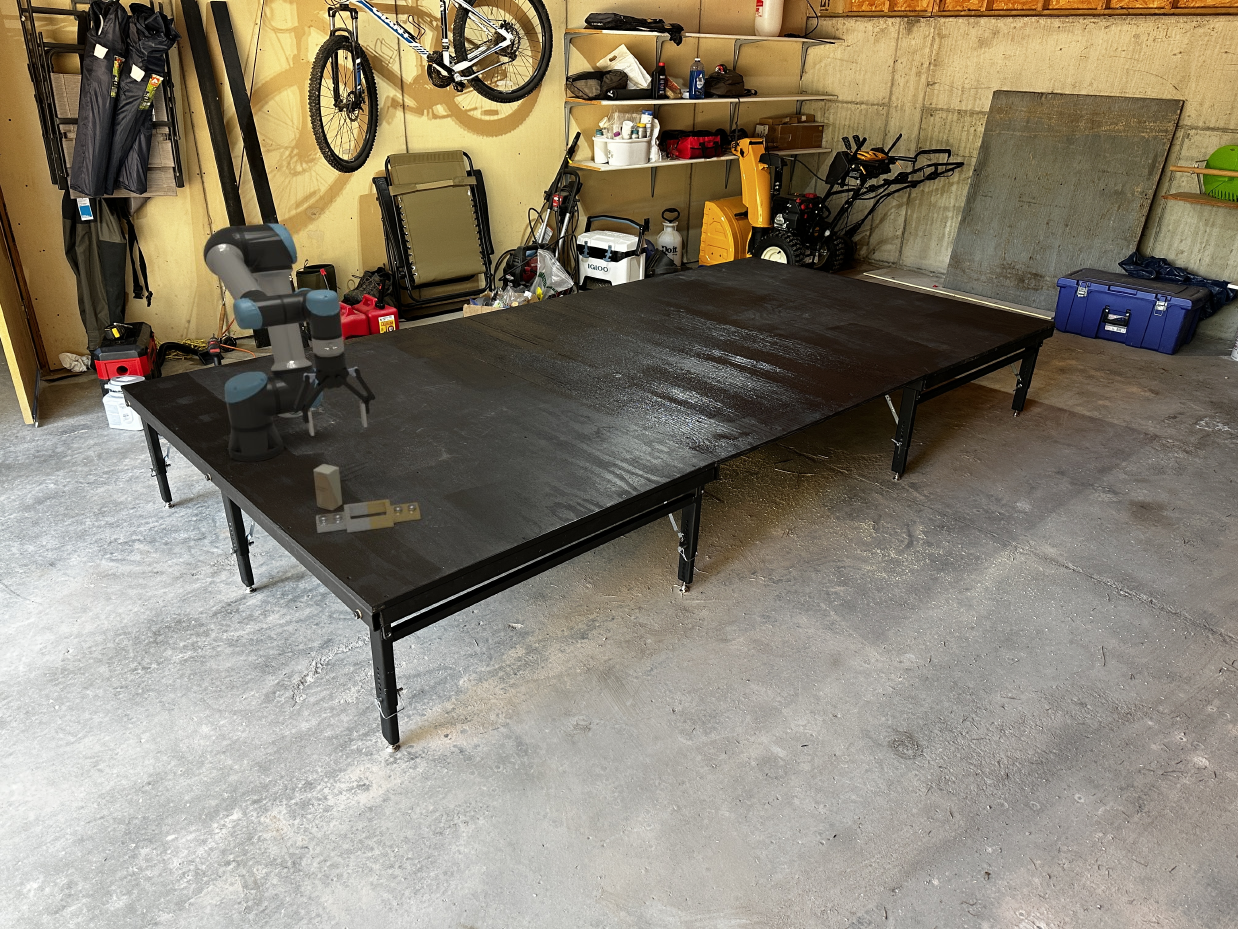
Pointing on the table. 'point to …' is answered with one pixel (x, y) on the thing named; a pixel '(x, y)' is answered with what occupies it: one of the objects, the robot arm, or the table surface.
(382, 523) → the link
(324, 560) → the table surface
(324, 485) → the box
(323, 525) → the link
